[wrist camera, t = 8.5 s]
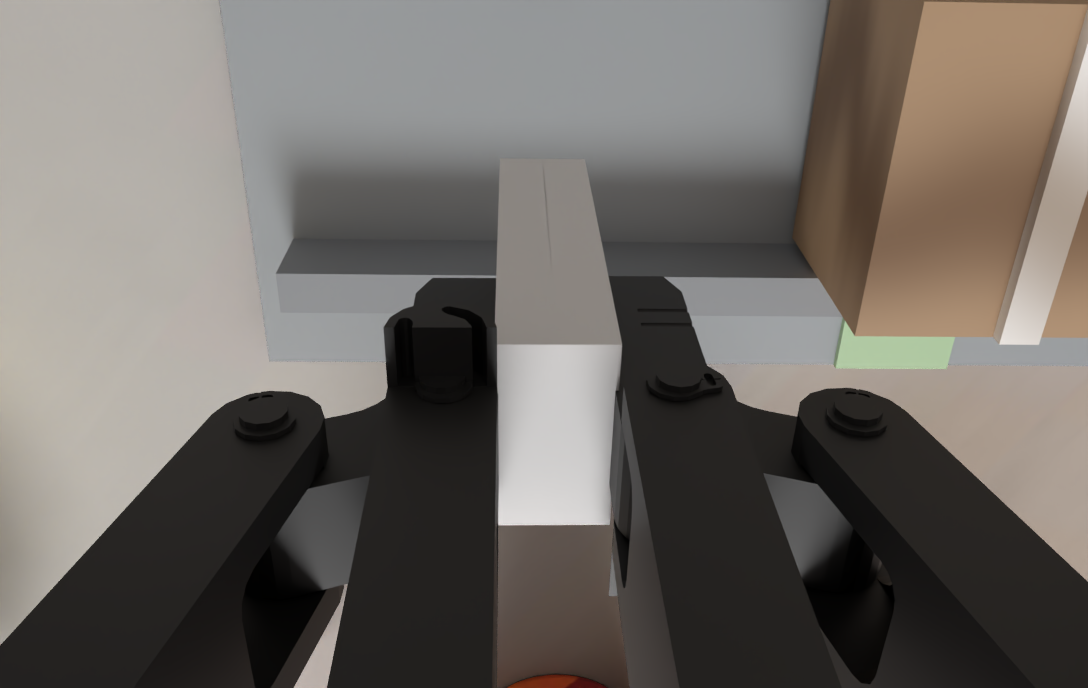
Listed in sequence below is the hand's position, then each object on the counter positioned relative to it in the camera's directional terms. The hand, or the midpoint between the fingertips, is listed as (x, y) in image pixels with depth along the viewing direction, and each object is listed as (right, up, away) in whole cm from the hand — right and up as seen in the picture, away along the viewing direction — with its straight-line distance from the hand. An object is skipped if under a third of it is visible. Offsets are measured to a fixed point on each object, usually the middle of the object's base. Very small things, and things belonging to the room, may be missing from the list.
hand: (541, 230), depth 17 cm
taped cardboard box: (+9, +3, +5) cm, 11 cm away
